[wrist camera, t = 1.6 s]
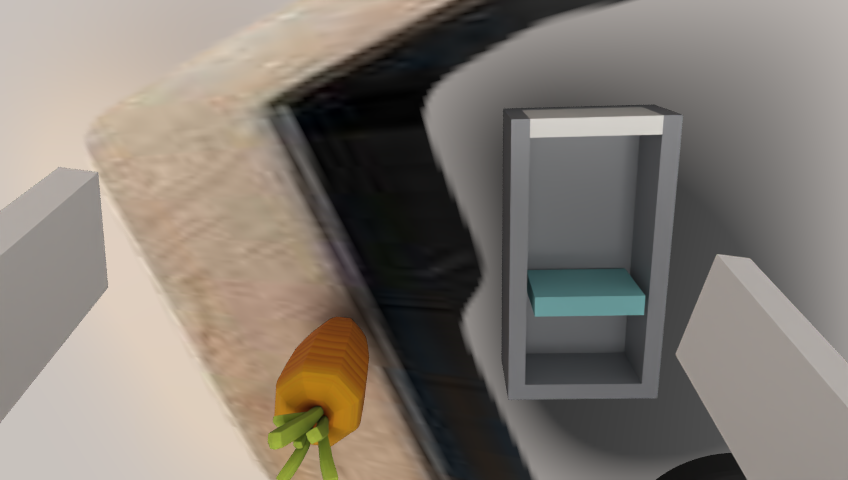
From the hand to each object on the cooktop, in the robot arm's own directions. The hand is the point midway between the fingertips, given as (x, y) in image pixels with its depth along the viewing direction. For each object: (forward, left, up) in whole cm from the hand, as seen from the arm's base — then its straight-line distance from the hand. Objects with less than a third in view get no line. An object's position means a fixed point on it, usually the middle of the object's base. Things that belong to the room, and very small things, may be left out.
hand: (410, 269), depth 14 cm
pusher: (-10, -9, -26) cm, 29 cm away
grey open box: (-8, -9, -27) cm, 29 cm away
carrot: (-14, +6, -27) cm, 31 cm away
